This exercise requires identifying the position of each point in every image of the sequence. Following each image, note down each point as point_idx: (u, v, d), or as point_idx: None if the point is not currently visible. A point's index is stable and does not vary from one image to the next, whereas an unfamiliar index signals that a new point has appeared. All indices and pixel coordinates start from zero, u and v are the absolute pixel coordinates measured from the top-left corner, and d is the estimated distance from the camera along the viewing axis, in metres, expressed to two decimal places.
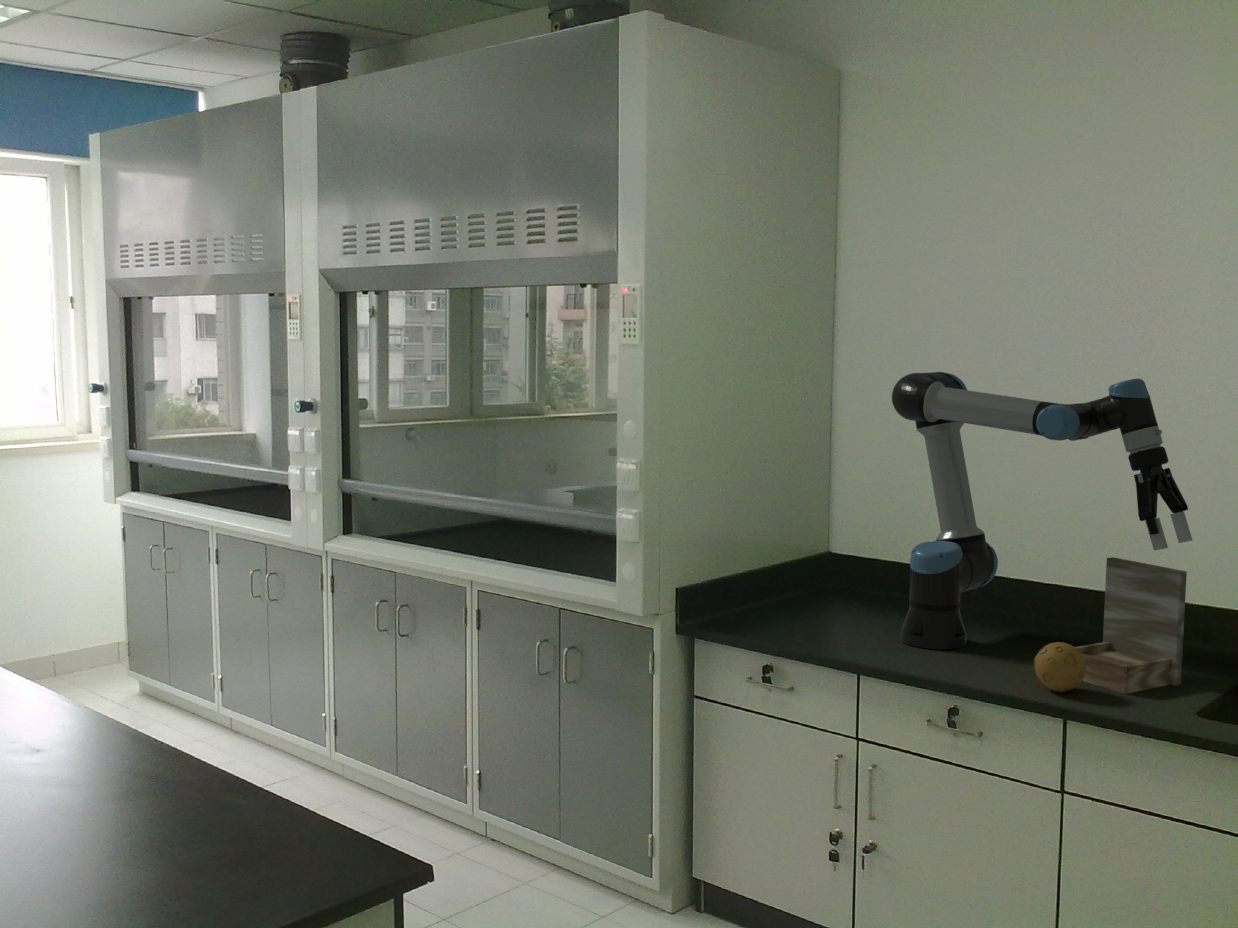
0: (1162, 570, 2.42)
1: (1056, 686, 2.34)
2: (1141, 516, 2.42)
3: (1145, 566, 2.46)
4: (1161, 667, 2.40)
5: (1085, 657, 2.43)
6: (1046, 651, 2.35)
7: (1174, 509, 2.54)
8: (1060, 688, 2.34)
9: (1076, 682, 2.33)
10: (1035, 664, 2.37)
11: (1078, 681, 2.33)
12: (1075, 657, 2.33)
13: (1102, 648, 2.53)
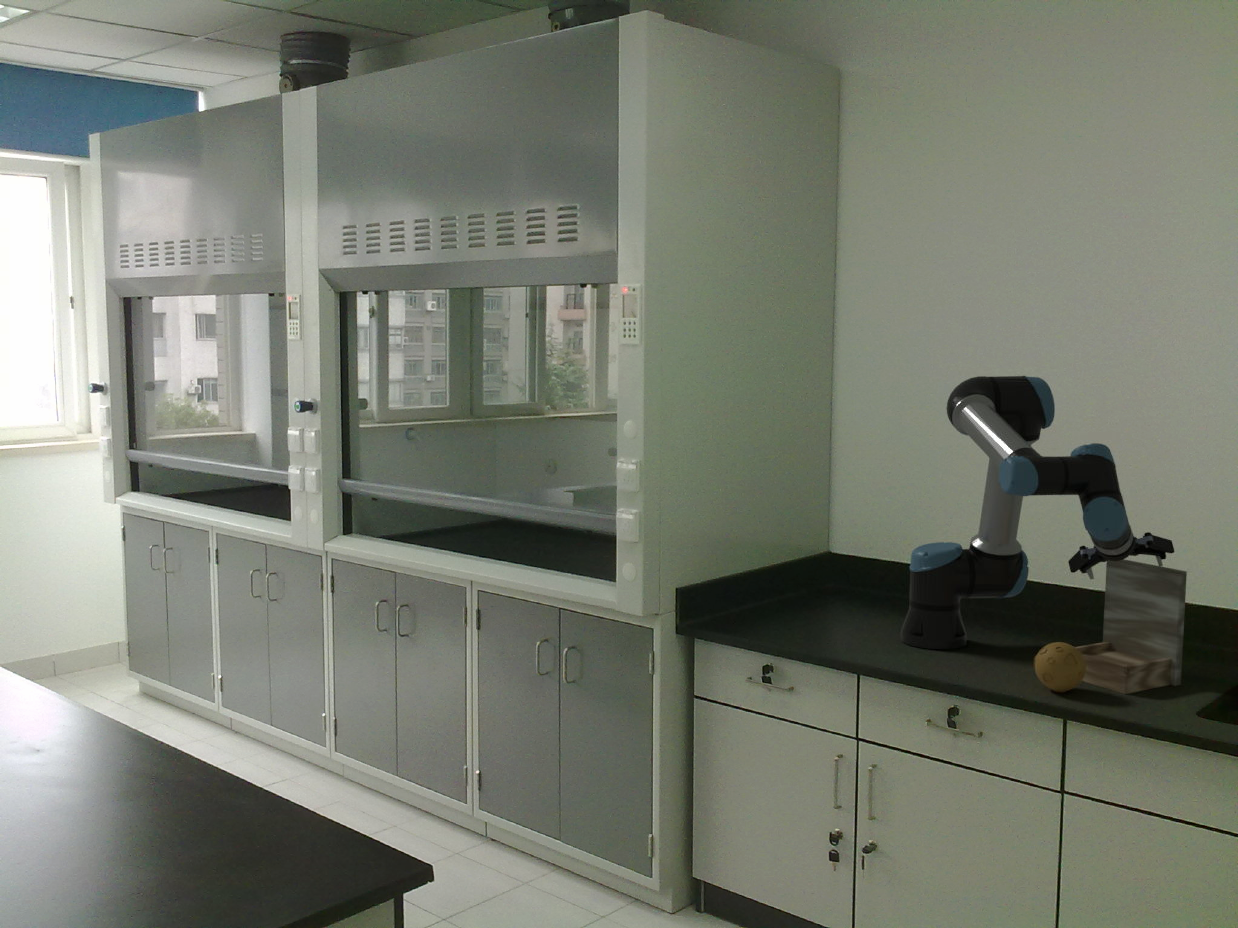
0: (1162, 570, 2.42)
1: (1056, 686, 2.34)
2: None
3: (1145, 566, 2.46)
4: (1161, 667, 2.40)
5: (1085, 657, 2.43)
6: (1046, 651, 2.35)
7: None
8: (1060, 688, 2.34)
9: (1076, 682, 2.33)
10: (1035, 664, 2.37)
11: (1078, 681, 2.33)
12: (1075, 657, 2.33)
13: (1102, 648, 2.53)
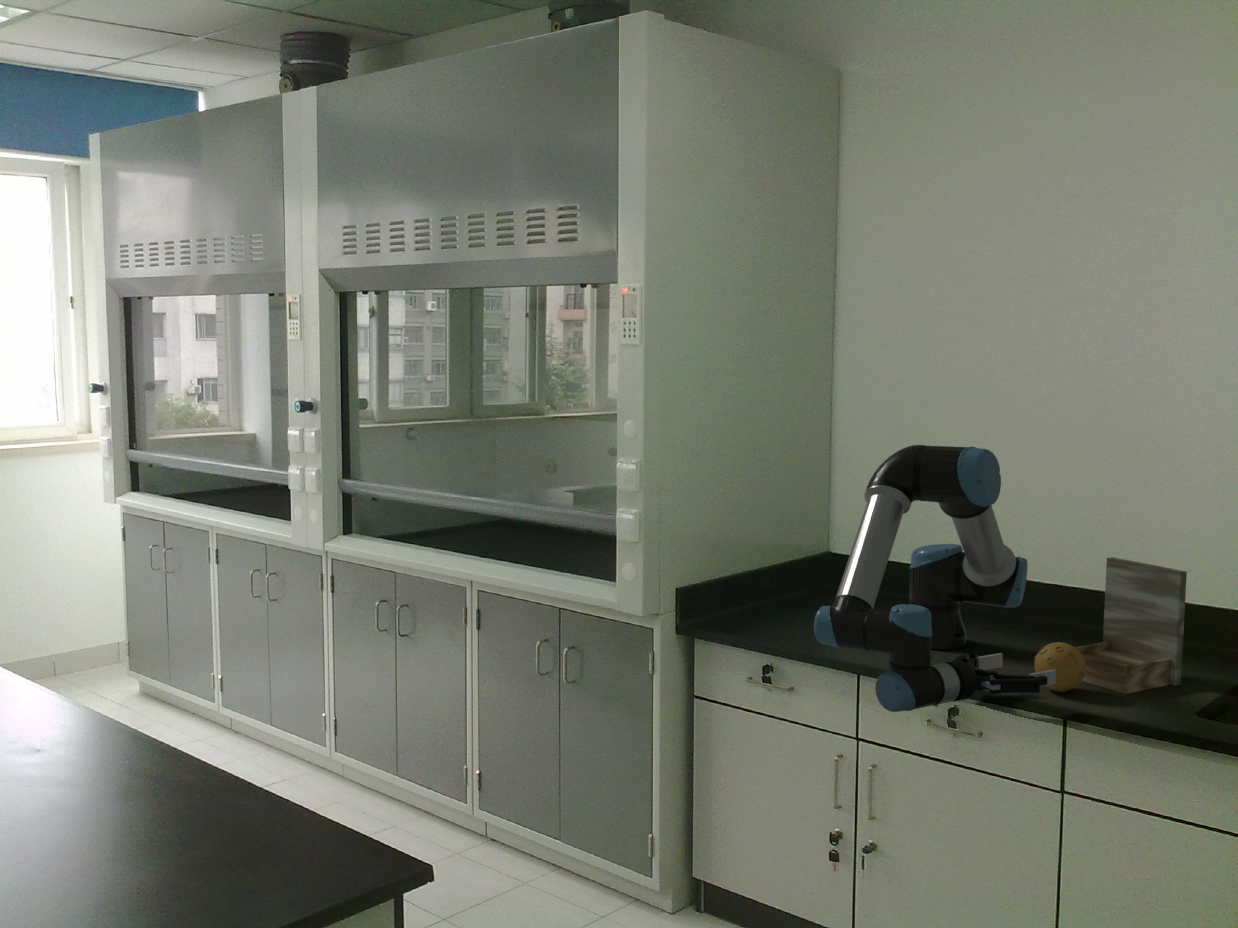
0: (1162, 570, 2.42)
1: (1055, 686, 2.34)
2: None
3: (1145, 566, 2.46)
4: (1161, 667, 2.40)
5: (1085, 657, 2.43)
6: (1046, 651, 2.35)
7: None
8: (1060, 688, 2.34)
9: (1076, 682, 2.33)
10: (1035, 664, 2.37)
11: (1078, 681, 2.33)
12: (1075, 657, 2.33)
13: (1102, 648, 2.53)
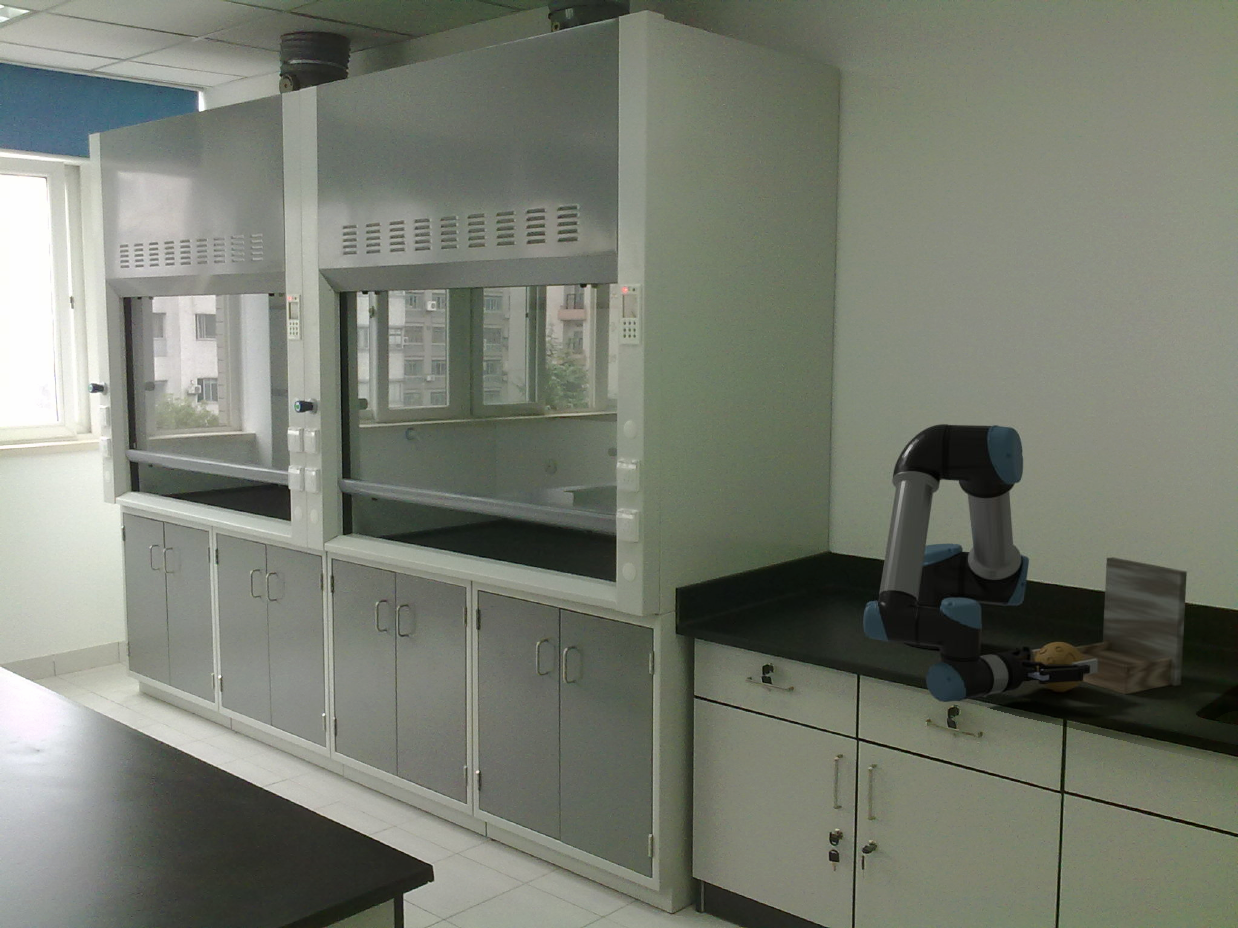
0: (1162, 570, 2.42)
1: (1055, 685, 2.34)
2: None
3: (1145, 566, 2.46)
4: (1161, 667, 2.40)
5: (1085, 657, 2.43)
6: (1046, 651, 2.35)
7: None
8: (1060, 688, 2.34)
9: (1076, 682, 2.33)
10: None
11: (1078, 681, 2.33)
12: (1075, 657, 2.33)
13: (1102, 648, 2.53)
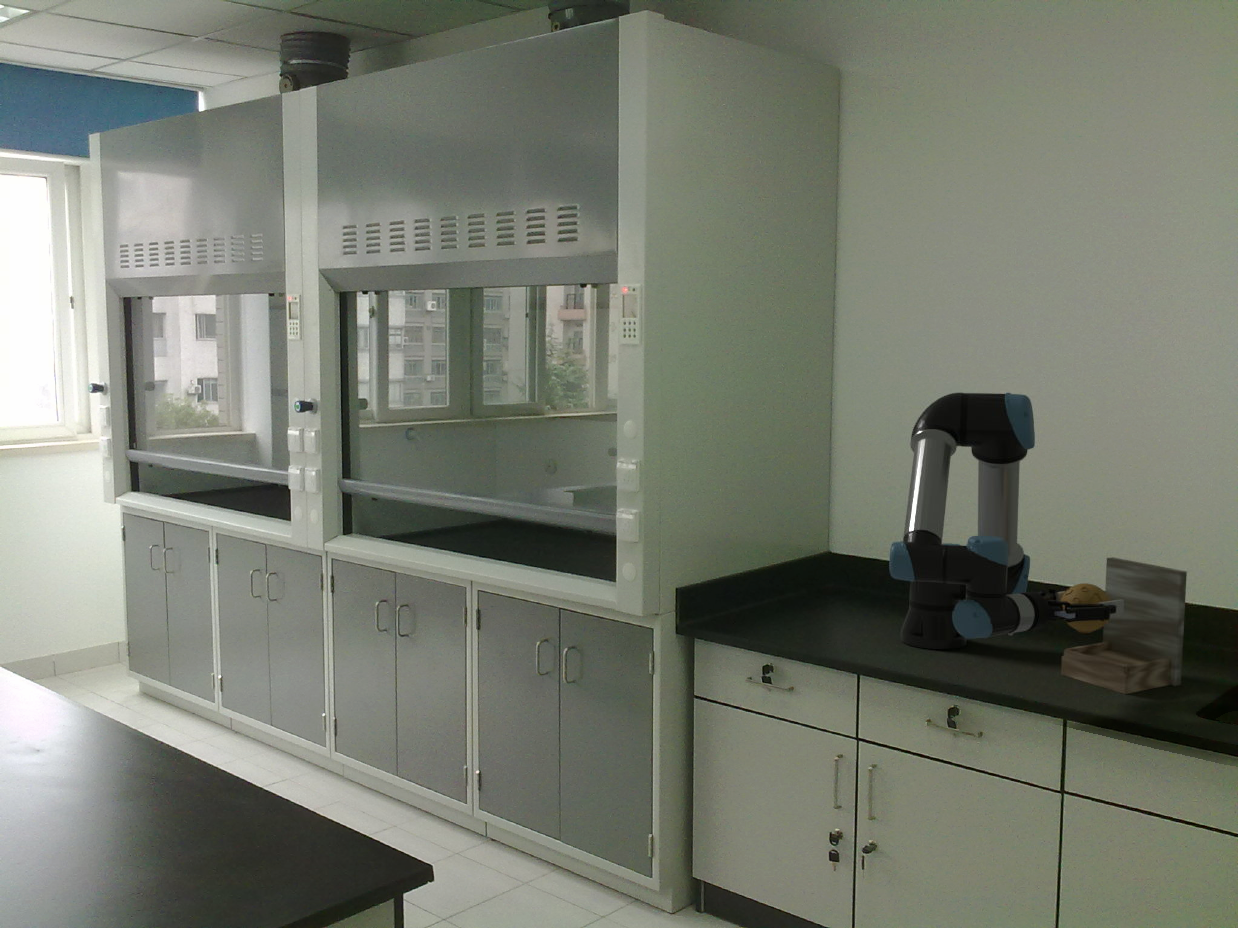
0: (1162, 570, 2.42)
1: (1081, 626, 2.35)
2: None
3: (1145, 566, 2.46)
4: (1161, 667, 2.40)
5: (1085, 657, 2.43)
6: (1072, 592, 2.36)
7: None
8: (1086, 628, 2.35)
9: (1102, 622, 2.34)
10: None
11: (1104, 621, 2.34)
12: (1101, 597, 2.34)
13: (1102, 648, 2.53)
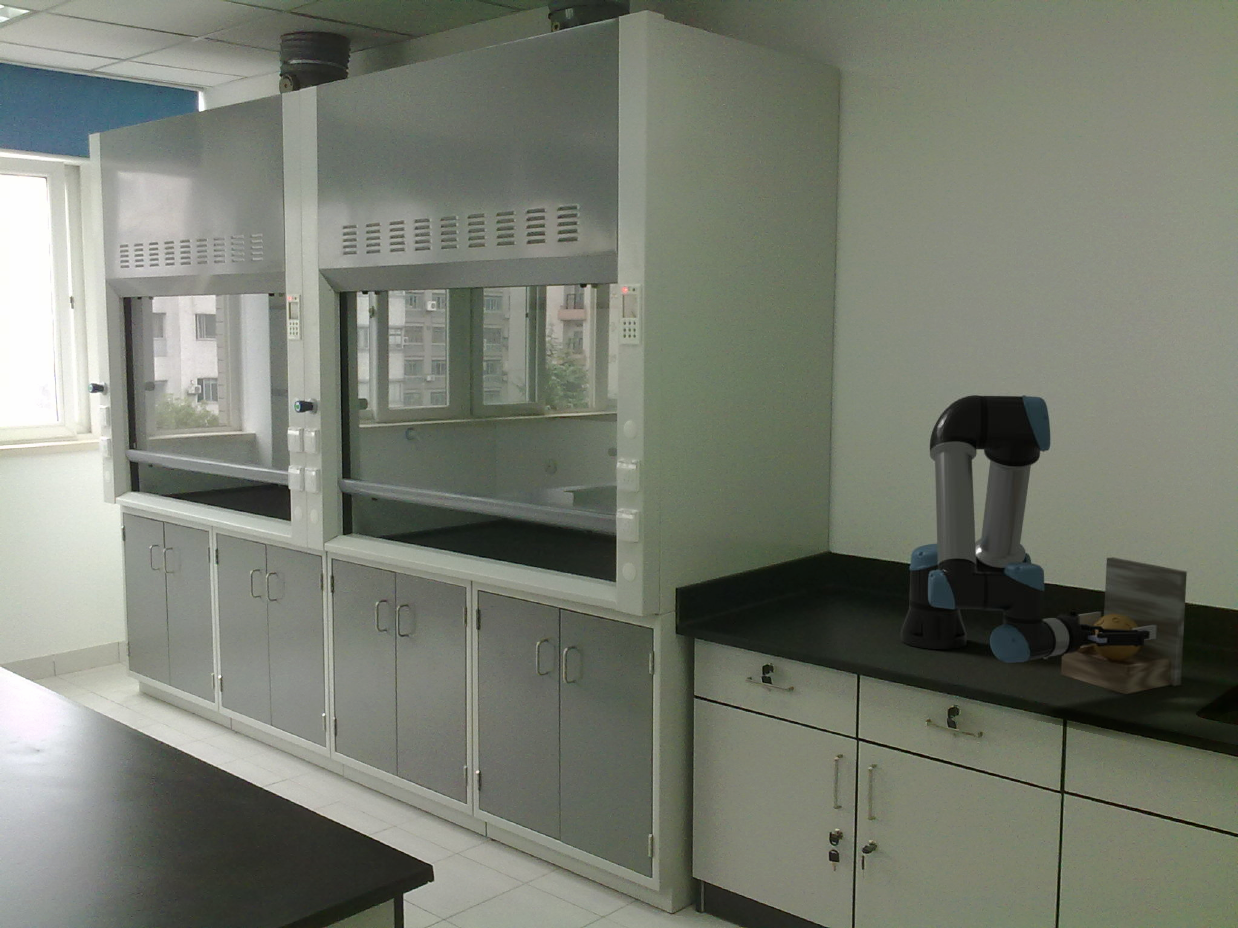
0: (1162, 570, 2.42)
1: (1112, 655, 2.42)
2: None
3: (1145, 566, 2.46)
4: (1161, 667, 2.40)
5: (1085, 657, 2.43)
6: (1103, 622, 2.43)
7: None
8: (1117, 658, 2.42)
9: (1132, 652, 2.41)
10: None
11: (1134, 651, 2.41)
12: (1131, 627, 2.41)
13: None
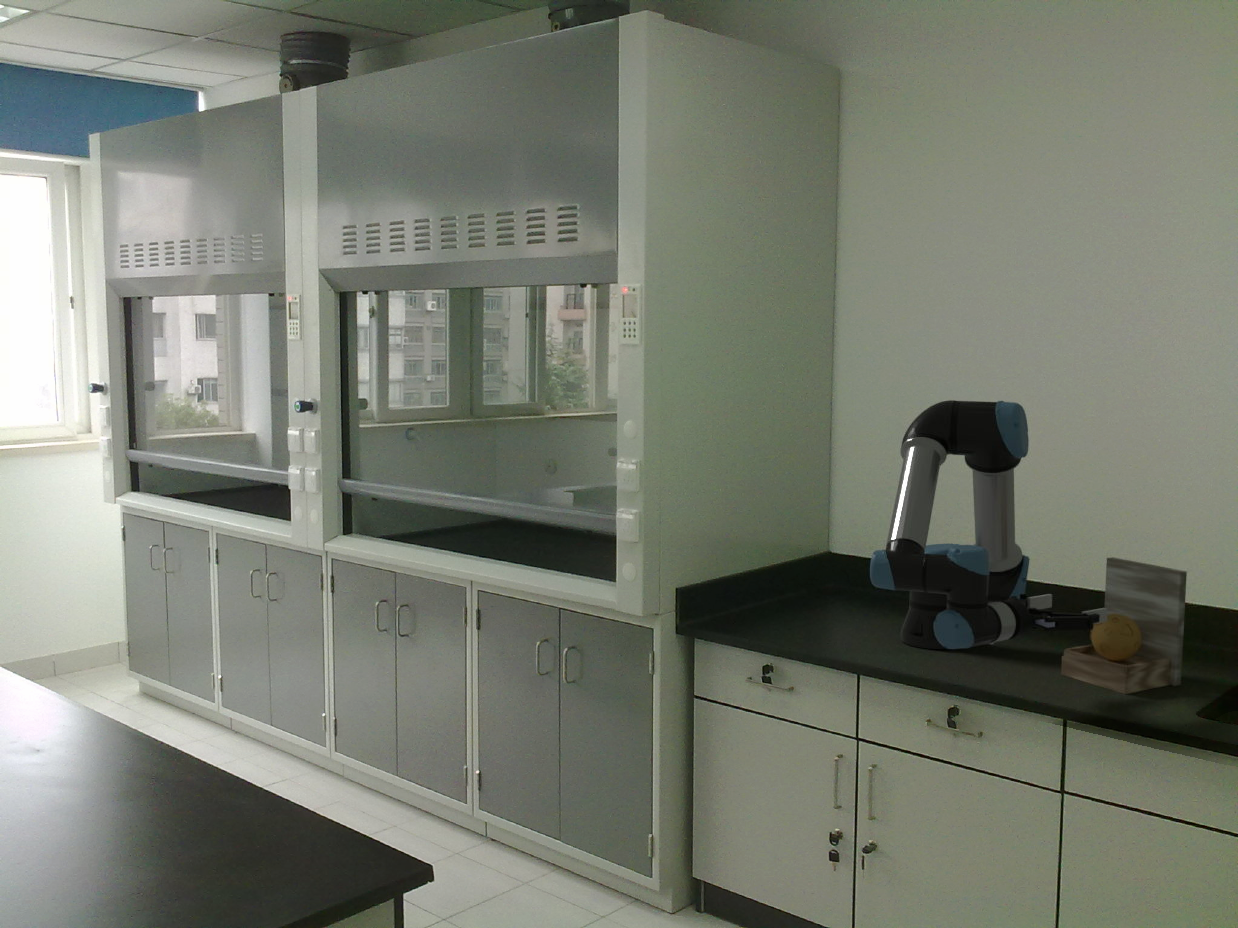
0: (1162, 570, 2.42)
1: (1112, 655, 2.42)
2: None
3: (1145, 566, 2.46)
4: (1161, 667, 2.40)
5: (1085, 657, 2.43)
6: (1103, 622, 2.43)
7: None
8: (1117, 658, 2.42)
9: (1132, 652, 2.41)
10: (1092, 635, 2.45)
11: (1134, 651, 2.41)
12: (1131, 628, 2.41)
13: None
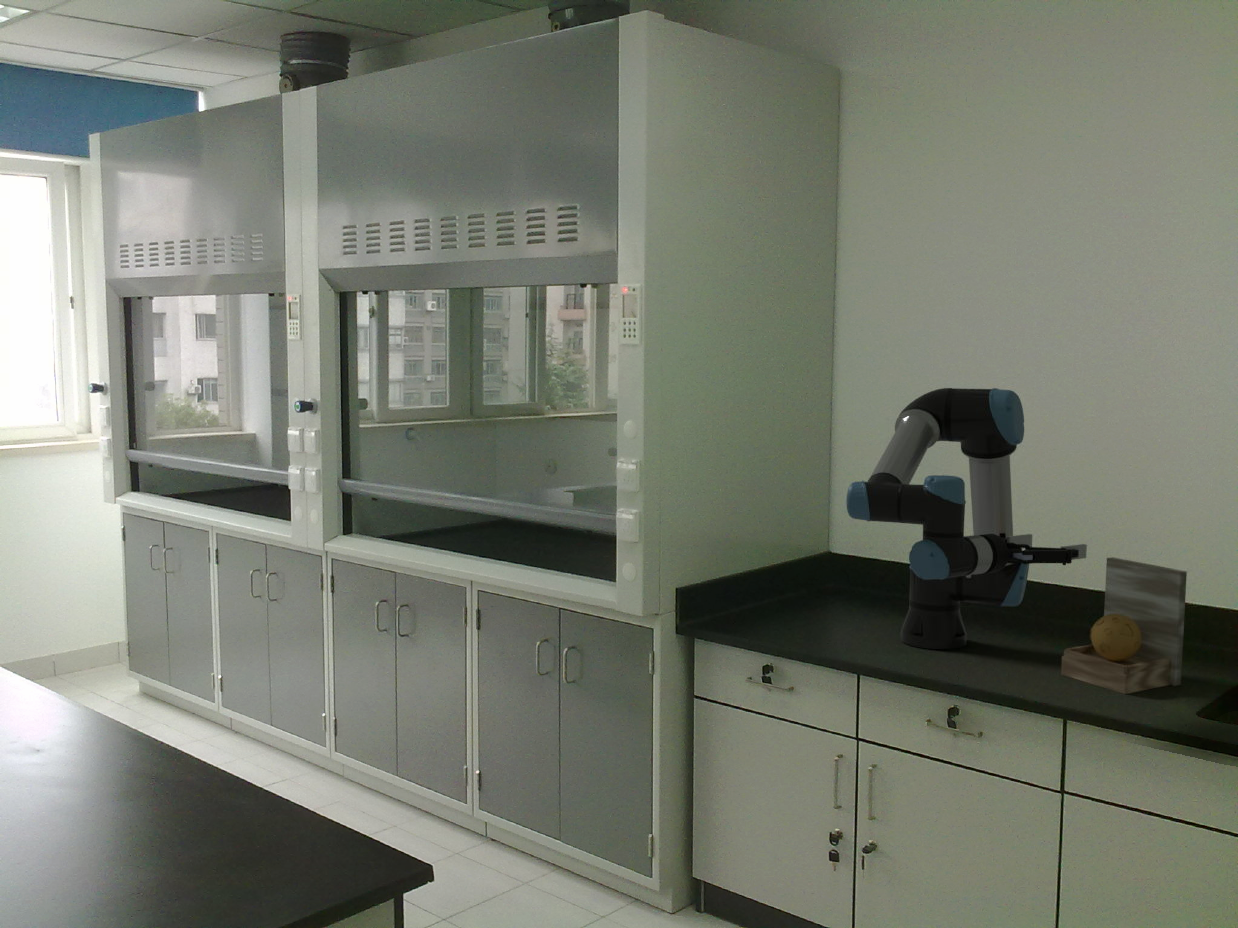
0: (1162, 570, 2.42)
1: (1112, 655, 2.42)
2: None
3: (1145, 566, 2.46)
4: (1161, 667, 2.40)
5: (1085, 657, 2.43)
6: (1103, 622, 2.43)
7: None
8: (1117, 658, 2.42)
9: (1132, 652, 2.41)
10: (1092, 635, 2.45)
11: (1134, 651, 2.41)
12: (1131, 628, 2.41)
13: None
